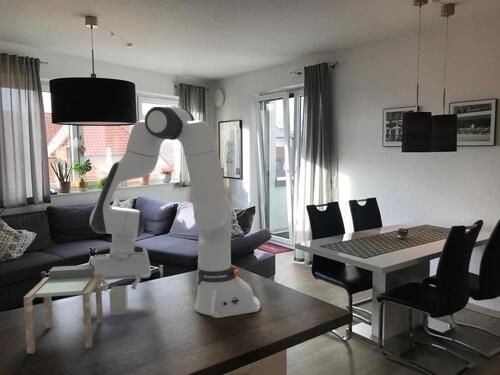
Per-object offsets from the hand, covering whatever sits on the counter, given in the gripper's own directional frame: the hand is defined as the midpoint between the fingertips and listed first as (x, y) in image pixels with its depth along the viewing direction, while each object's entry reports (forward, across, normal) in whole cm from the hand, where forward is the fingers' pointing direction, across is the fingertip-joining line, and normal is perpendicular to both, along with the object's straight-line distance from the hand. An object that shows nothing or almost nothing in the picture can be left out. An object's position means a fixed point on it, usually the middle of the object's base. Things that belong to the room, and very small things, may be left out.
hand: (119, 289), depth 135 cm
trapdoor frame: (+18, -12, -8) cm, 23 cm away
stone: (+6, 0, +3) cm, 7 cm away
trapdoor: (+6, -12, -17) cm, 22 cm away
